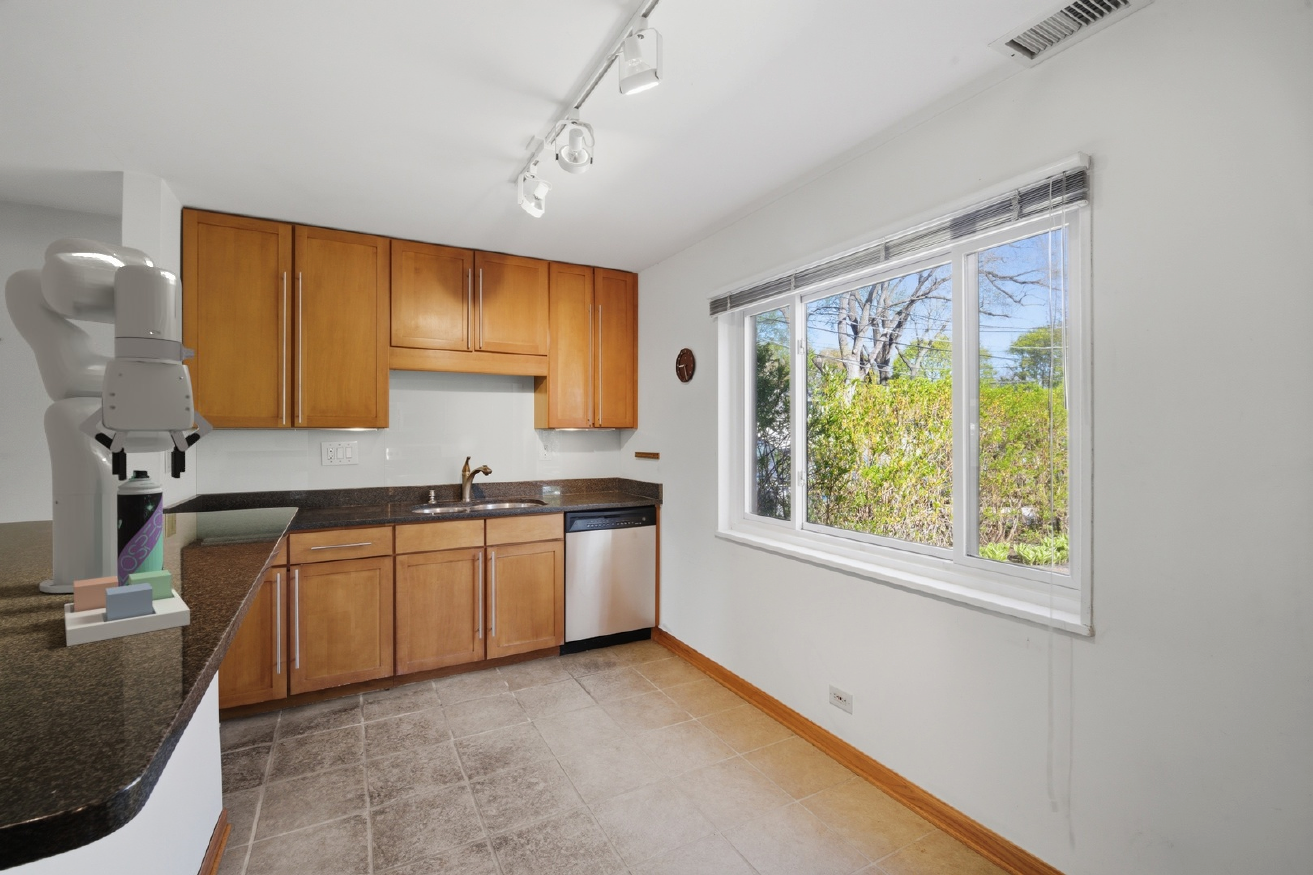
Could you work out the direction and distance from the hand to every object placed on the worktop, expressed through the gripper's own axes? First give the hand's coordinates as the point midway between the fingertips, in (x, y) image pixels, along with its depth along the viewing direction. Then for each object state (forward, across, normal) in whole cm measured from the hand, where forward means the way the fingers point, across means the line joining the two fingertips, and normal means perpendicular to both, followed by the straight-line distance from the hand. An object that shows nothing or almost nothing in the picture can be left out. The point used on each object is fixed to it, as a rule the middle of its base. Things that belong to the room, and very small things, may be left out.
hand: (149, 477), depth 88 cm
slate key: (+18, +3, +8) cm, 20 cm away
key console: (+19, +3, +4) cm, 20 cm away
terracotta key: (+18, +6, 0) cm, 19 cm away
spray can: (+20, 0, -10) cm, 22 cm away
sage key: (+18, 0, 0) cm, 18 cm away
